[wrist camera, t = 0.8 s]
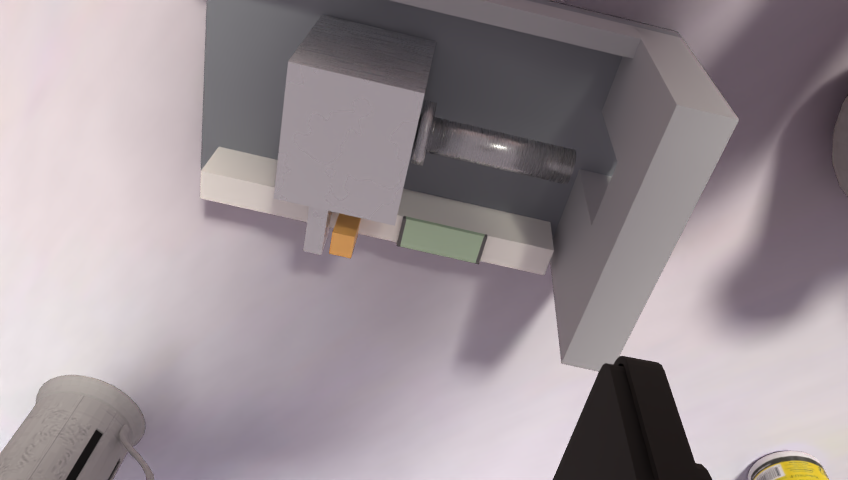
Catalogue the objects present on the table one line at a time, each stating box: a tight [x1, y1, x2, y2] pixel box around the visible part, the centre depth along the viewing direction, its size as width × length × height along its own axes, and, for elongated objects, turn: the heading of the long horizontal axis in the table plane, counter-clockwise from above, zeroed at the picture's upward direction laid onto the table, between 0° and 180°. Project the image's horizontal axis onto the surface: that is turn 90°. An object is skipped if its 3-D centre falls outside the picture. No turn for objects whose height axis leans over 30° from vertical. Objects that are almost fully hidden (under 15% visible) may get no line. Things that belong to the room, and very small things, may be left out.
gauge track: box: [200, 0, 739, 372], centre depth 35 cm, size 14×24×11 cm, turn 78°
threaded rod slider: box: [274, 15, 576, 255], centre depth 36 cm, size 11×14×7 cm
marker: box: [329, 213, 361, 258], centre depth 38 cm, size 1×1×2 cm
